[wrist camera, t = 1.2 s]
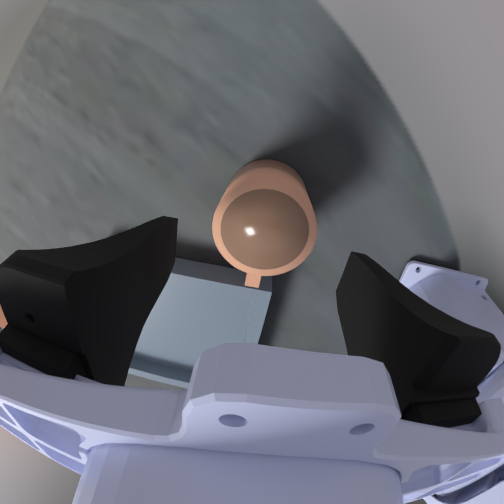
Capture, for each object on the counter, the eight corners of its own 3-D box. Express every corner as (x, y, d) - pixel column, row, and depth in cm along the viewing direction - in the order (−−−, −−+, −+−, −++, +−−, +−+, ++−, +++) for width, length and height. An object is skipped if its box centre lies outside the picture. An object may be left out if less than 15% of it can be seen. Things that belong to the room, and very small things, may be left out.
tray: (272, 275, 21) (272, 292, 19) (243, 382, 27) (241, 398, 26) (103, 242, 21) (91, 255, 19) (118, 353, 27) (111, 367, 25)
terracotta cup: (315, 168, 17) (329, 193, 13) (291, 258, 21) (295, 304, 16) (233, 152, 17) (219, 171, 13) (219, 244, 20) (204, 287, 16)
